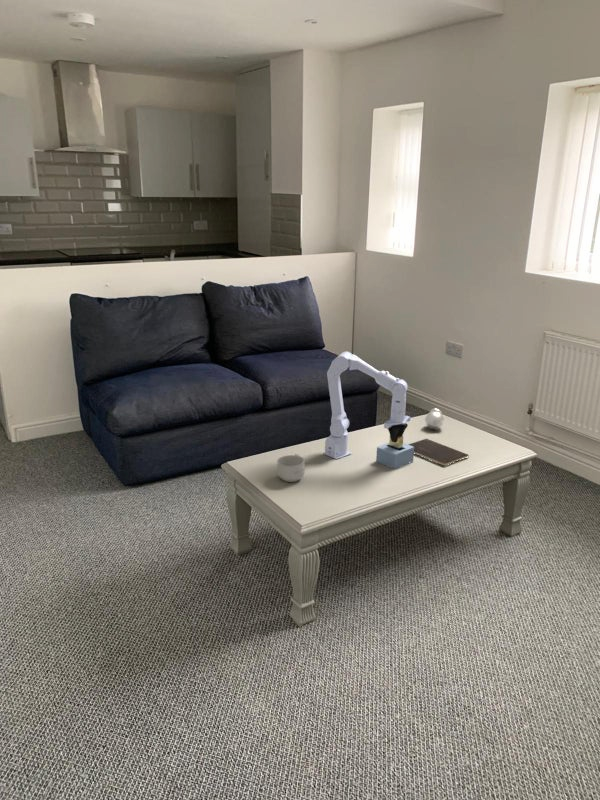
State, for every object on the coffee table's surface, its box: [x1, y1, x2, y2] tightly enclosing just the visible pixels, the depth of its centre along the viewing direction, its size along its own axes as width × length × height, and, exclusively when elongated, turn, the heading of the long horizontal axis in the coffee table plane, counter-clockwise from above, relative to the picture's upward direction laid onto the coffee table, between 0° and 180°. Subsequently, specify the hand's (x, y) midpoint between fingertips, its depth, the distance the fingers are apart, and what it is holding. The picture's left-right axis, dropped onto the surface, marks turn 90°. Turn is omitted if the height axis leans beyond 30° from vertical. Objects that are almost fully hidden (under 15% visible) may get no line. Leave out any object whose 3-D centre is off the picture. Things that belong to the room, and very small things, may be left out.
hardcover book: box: [408, 438, 469, 467], centre depth 275 cm, size 16×23×2 cm
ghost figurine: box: [424, 407, 445, 430], centre depth 303 cm, size 9×10×10 cm
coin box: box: [375, 442, 415, 470], centre depth 266 cm, size 12×10×6 cm
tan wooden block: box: [388, 435, 404, 448], centre depth 264 cm, size 3×5×4 cm, turn 42°
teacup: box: [276, 453, 306, 483], centre depth 249 cm, size 14×11×8 cm
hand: (396, 440), depth 264 cm, fingers closed on tan wooden block, 3 cm apart
